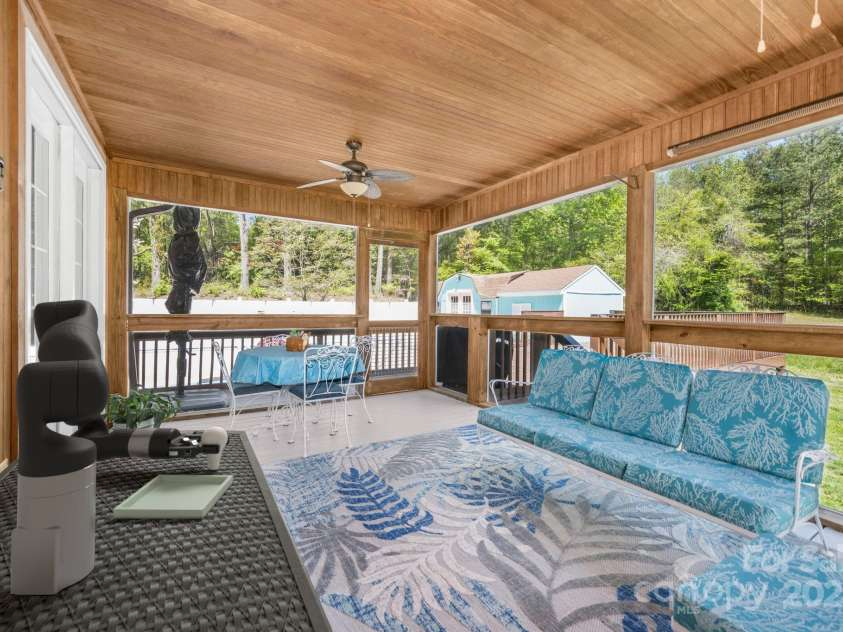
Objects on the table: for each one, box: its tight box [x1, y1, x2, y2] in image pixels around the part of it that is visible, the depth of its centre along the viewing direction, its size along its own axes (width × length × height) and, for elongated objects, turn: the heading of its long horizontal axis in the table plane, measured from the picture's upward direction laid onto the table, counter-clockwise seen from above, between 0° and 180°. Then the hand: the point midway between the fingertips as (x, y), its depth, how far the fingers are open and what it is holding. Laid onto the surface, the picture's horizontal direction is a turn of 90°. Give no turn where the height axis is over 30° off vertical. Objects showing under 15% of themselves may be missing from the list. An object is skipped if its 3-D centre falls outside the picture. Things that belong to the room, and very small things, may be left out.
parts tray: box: [112, 474, 234, 520], centre depth 93 cm, size 17×17×2 cm
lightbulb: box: [200, 426, 229, 471], centre depth 109 cm, size 6×6×11 cm
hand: (224, 444), depth 109 cm, fingers closed on lightbulb, 6 cm apart
